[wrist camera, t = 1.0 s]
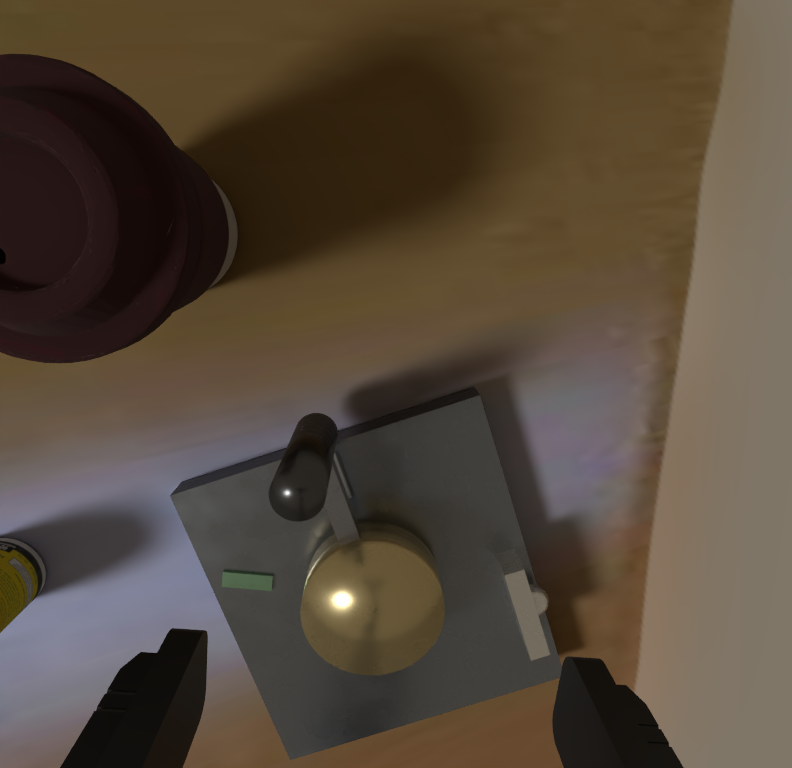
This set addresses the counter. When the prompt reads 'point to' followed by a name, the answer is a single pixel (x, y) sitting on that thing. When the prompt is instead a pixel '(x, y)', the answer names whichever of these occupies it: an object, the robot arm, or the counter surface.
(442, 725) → the counter surface
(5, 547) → the supplement bottle
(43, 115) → the coffee cup
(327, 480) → the cam capstan
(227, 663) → the counter surface
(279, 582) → the stand
